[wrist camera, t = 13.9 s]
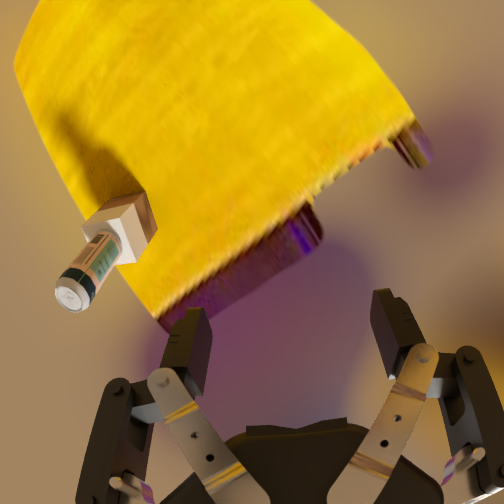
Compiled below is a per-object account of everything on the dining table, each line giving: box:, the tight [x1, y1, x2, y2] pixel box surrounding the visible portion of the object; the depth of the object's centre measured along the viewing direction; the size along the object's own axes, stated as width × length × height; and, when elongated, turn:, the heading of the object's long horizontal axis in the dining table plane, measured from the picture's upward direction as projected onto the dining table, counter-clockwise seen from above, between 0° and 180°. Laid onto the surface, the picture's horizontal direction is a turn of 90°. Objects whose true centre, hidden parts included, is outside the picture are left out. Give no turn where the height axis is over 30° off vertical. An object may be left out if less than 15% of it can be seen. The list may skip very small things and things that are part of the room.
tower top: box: [81, 203, 148, 265], centre depth 40 cm, size 7×7×5 cm
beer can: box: [55, 230, 122, 313], centre depth 33 cm, size 5×5×12 cm
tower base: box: [98, 191, 158, 243], centre depth 45 cm, size 7×7×5 cm
